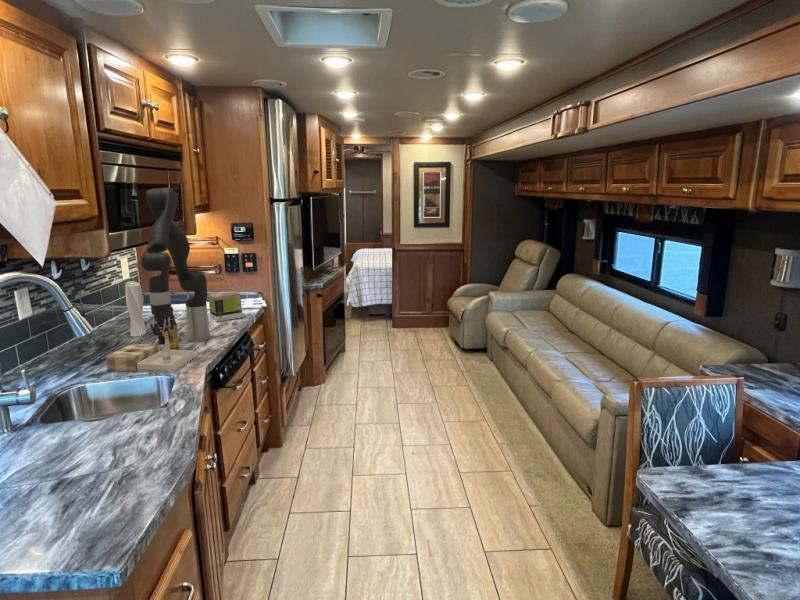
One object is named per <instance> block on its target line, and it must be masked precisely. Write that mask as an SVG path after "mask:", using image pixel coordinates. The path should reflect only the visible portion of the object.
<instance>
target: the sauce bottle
mask: <svg viewBox="0 0 800 600" xmlns="http://www.w3.org/2000/svg"><path fill="white" fill-rule="evenodd" d="M171 307H172V312H171V313H170V316H174V307H173V306H171ZM170 339H171V341H169V344H170V350H179V347H180V345H179V334H178V323H177V321H176V319H175V318H174V326H173V330H171V332H170Z"/></svg>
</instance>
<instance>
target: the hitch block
mask: <svg viewBox="0 0 800 600" xmlns="http://www.w3.org/2000/svg"><path fill="white" fill-rule="evenodd" d="M159 351H160V350H159V345H158V344H141V343H140V344H139V343H131V344H129V345H126V346H124V347H123V348H120V349H118V350H115V351H113V352H111V353H109V354H108V355H106V356H105V360H106V367H107V368H106V369H107V371H113V370H114V372H115V371H116V372H117V371H118V372H121V371H122V372H133V373H134V372H138V369H137V363H139V362H141V361H142V360H144V359H146V358H148V357H150V356H152V355H154V354H155V353H157V352H159Z"/></svg>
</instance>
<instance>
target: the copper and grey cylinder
mask: <svg viewBox="0 0 800 600" xmlns="http://www.w3.org/2000/svg"><path fill="white" fill-rule="evenodd" d="M164 336H165V344H160V349H161V350H160V351H162V360H170V359H171V354H170V344H169V335H168V330H164Z"/></svg>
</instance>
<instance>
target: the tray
mask: <svg viewBox="0 0 800 600" xmlns="http://www.w3.org/2000/svg"><path fill="white" fill-rule="evenodd" d="M170 354H171V359H170V360H162V351H161V350H159V352H157V353H155V354H154V355H152V356H150V357H148V358H146V359H144V360H142V361H141V362H139V363H137V369H138V370H137V373H139V372H140V373H159V374H172V373H174V372H175V371H177V370H178V369H180V368H182V367H183V366H185V365H186V364H188V363H190V362H191V361H193V360H194V359H195V351H194V350H188V349H178V350H170ZM193 358H194V359H193ZM192 359H193V360H192ZM190 360H191V361H190ZM187 362H188V363H187ZM184 364H185V365H184Z"/></svg>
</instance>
